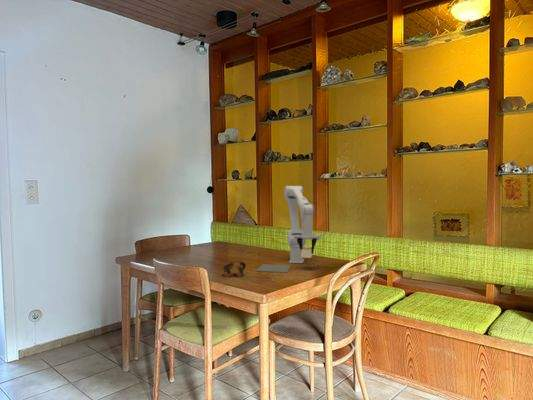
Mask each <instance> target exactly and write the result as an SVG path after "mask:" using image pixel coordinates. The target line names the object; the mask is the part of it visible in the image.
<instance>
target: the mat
mask: <svg viewBox="0 0 533 400" xmlns="http://www.w3.org/2000/svg"><path fill="white" fill-rule="evenodd" d="M292 267H293V266H292V265H290V264H267V263H262V264H261V266H259V267H258V268H257V269H256V270H255V272H262V273H263V272H264V273H281V274H286V273H288V271H290V269H291V268H292Z"/></svg>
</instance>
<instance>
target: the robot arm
mask: <svg viewBox="0 0 533 400" xmlns="http://www.w3.org/2000/svg"><path fill="white" fill-rule="evenodd" d="M283 190H284V200H285V201H286V202H287V205H288V211H289V220H290V230H289V231H288V232H287V235H286V236H287V237H286V238H287V239H286V242H287V245H288V246H289V247H290V248H289V255H290V256H289V260H288V263H289V264H291V263H293V264H303V263H304V261H305V258H303V257H301V250H302V248H303V247H305V245H306V243H307V240H311V247H312V253H313V254H314V251H315V250H314V249H315V247H316V243H317V241H318V240H319V241H321V239H322V235H315V234H313V233H314V232H313V230H314V229H313V224H314V223H313V219H314V218H313V217H314V215H315V206H314V204H313V203H310V202H309V200H308V199H307V197H305V196H304V195H303V193H304V188H303V186H302V185H286V186H284V189H283ZM298 207H299V212H300V219H301V226H300V220H299V213H298ZM300 227H301V228H300Z"/></svg>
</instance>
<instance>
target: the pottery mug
mask: <svg viewBox="0 0 533 400" xmlns="http://www.w3.org/2000/svg"><path fill="white" fill-rule="evenodd" d="M234 267H235V268H236V269H237V270H238V271H237V272H236V276H237V278H239V277H242V276H244V270H245V269H246V267H247V266H246V263H245V262H244V261H240V262H237V261H236V260H233V261H231V262H229V263H227V264H226V265H224V266H223V267H222V269H223V273H227V274H230V273H231V270H233V268H234Z"/></svg>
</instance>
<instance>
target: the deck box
mask: <svg viewBox="0 0 533 400" xmlns="http://www.w3.org/2000/svg"><path fill="white" fill-rule="evenodd" d="M313 254H314V252H313V253H312V246H304V247H303V248H302V250H301V257H303V259H305V258H307V259H311V258H312V256H313Z"/></svg>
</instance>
